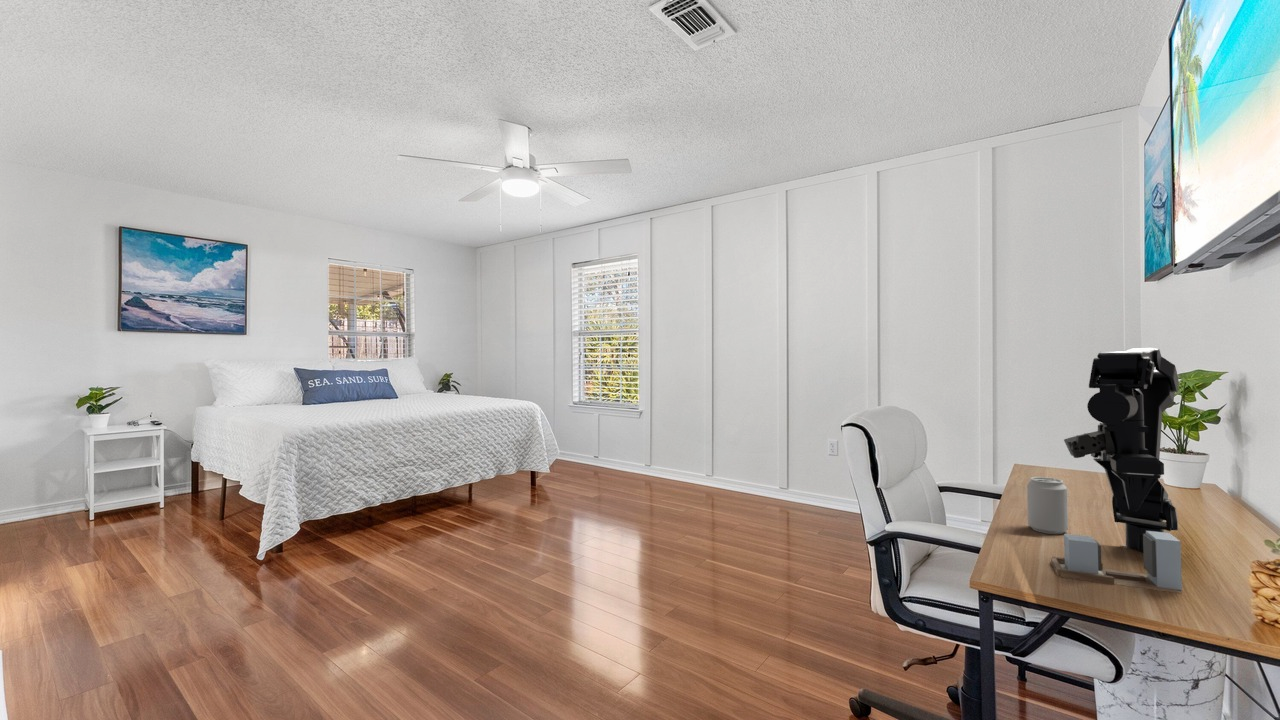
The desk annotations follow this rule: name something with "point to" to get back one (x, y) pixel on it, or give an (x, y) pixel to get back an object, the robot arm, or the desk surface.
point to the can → (1047, 505)
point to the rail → (1108, 576)
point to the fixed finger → (1162, 559)
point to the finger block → (1082, 554)
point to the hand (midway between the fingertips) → (1125, 504)
